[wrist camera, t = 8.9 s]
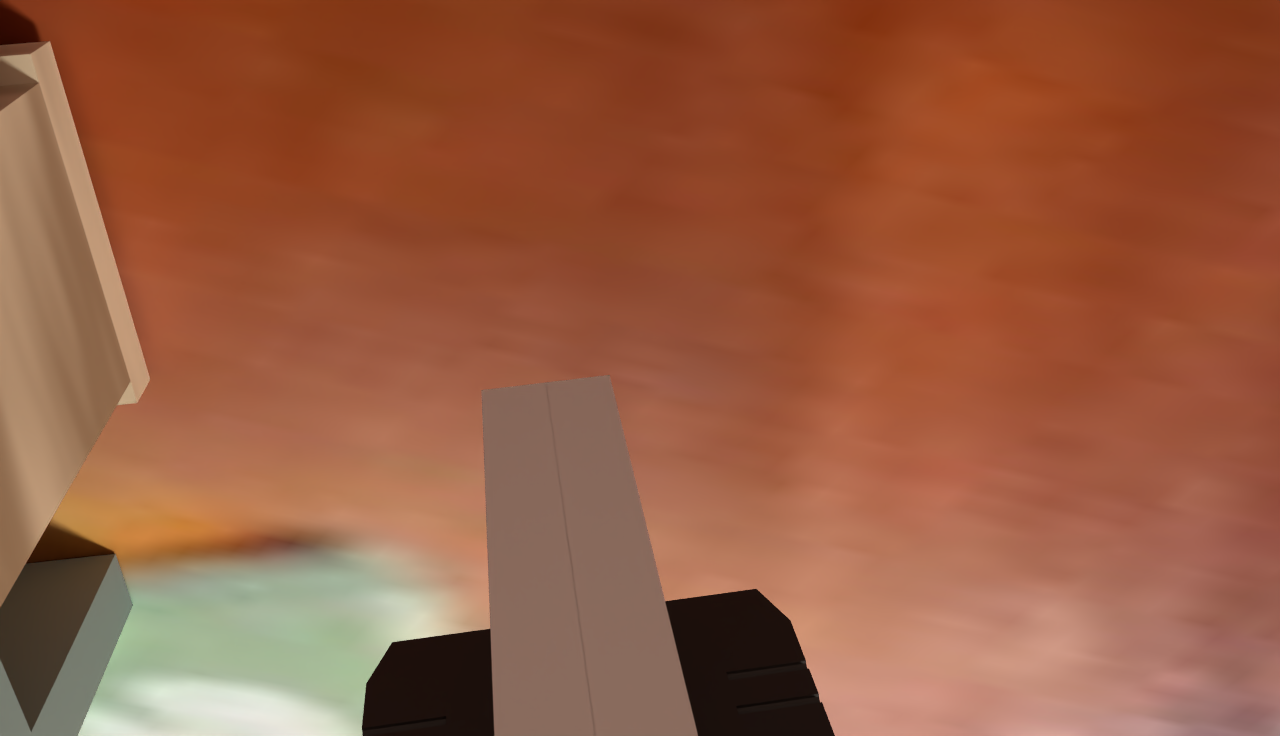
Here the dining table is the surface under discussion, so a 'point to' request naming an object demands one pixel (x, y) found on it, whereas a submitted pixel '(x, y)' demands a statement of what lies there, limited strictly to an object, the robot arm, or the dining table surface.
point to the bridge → (58, 642)
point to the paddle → (51, 306)
